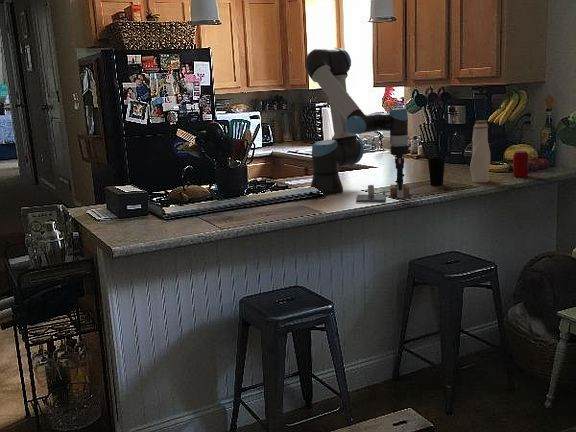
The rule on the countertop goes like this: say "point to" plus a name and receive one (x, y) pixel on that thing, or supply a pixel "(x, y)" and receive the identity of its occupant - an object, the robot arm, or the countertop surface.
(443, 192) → the countertop surface
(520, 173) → the beverage can
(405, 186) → the collar
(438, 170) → the cup
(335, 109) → the robot arm
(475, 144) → the water bottle
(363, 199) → the post base
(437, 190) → the countertop surface
